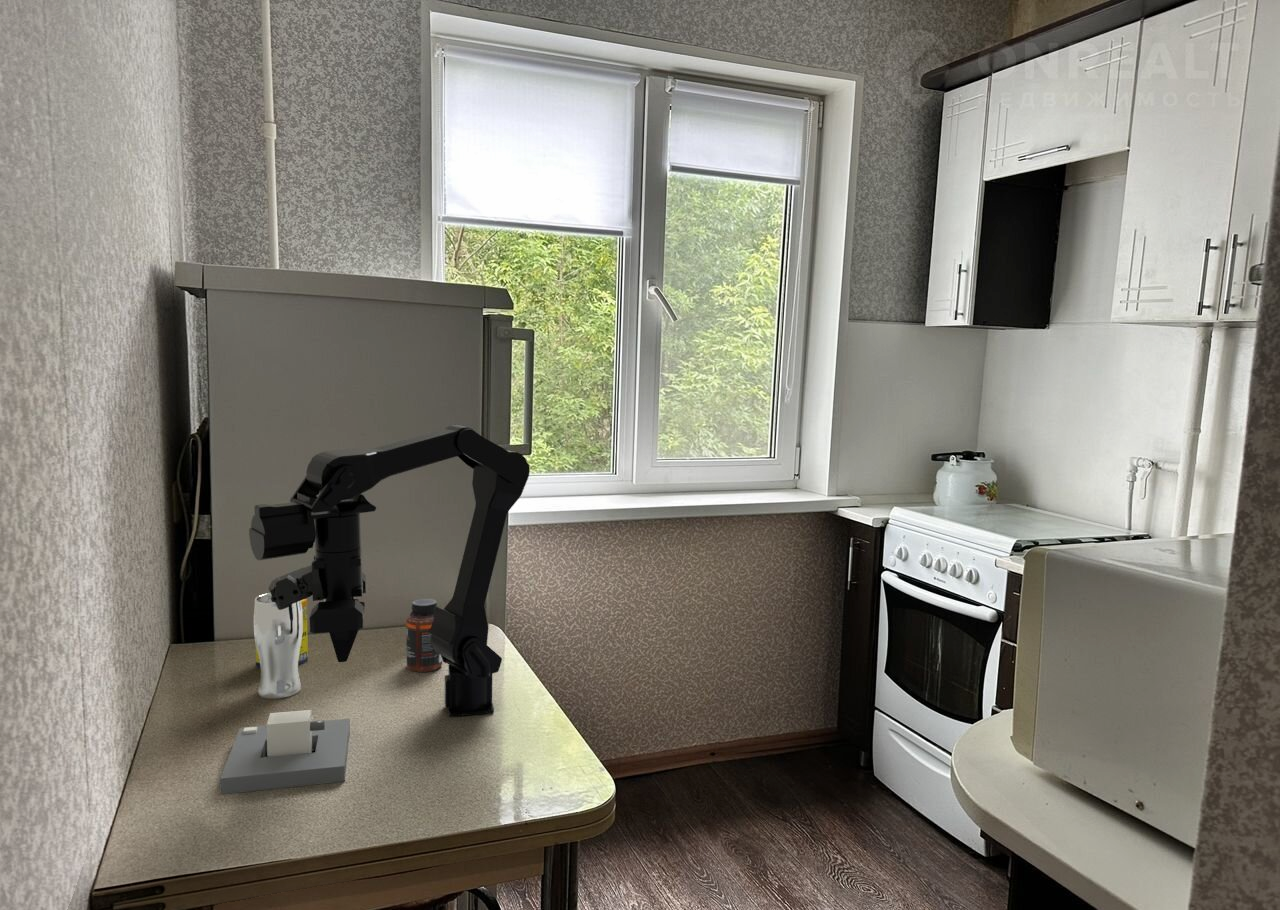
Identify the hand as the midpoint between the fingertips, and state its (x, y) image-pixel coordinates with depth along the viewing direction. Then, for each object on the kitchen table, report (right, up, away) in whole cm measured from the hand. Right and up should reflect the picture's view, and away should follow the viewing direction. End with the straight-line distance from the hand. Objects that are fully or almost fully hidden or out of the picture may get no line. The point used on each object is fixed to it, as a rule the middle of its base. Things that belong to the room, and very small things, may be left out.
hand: (342, 661), depth 114 cm
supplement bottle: (+4, -8, +30) cm, 31 cm away
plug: (-5, -12, -4) cm, 14 cm away
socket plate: (-5, -12, -4) cm, 14 cm away
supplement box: (-20, -8, +29) cm, 36 cm away
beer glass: (-16, -9, +18) cm, 26 cm away
